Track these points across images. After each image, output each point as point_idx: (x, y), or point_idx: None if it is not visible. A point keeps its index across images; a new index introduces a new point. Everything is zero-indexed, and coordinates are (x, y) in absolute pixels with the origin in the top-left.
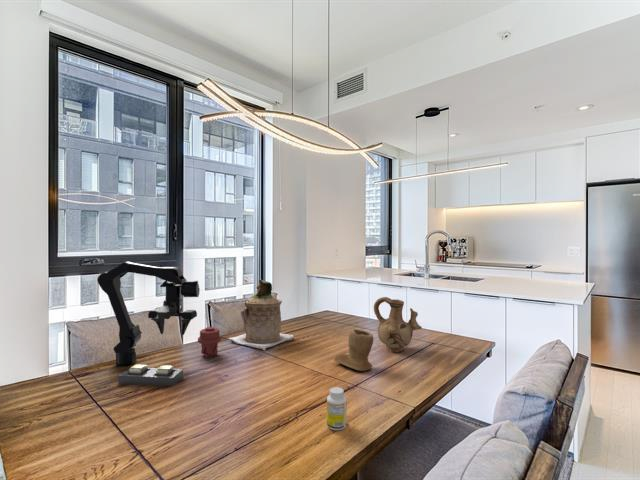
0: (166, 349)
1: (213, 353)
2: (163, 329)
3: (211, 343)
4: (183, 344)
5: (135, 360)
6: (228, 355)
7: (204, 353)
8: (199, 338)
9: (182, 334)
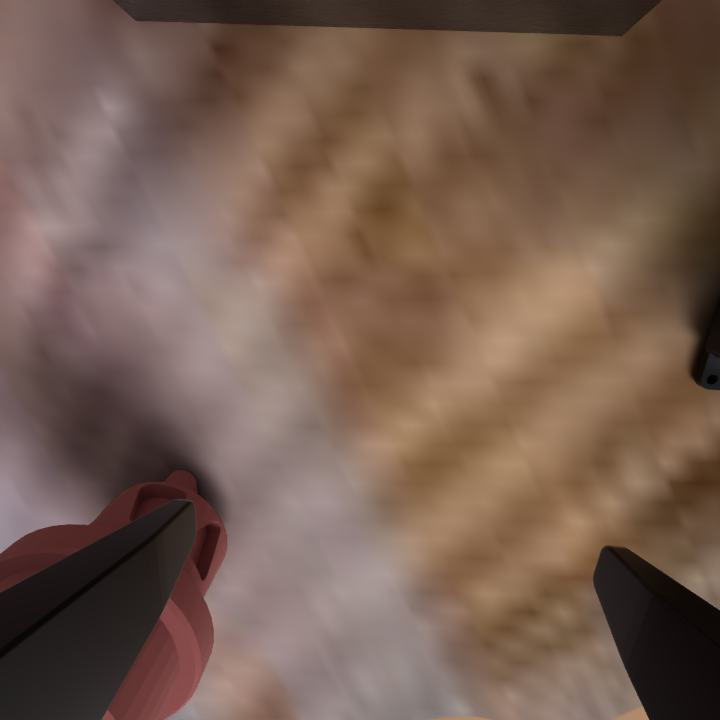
0: (547, 626)
1: (116, 497)
2: (637, 671)
3: (31, 534)
4: (460, 706)
5: (718, 344)
6: (55, 514)
7: (178, 492)
8: (163, 617)
9: (177, 503)
